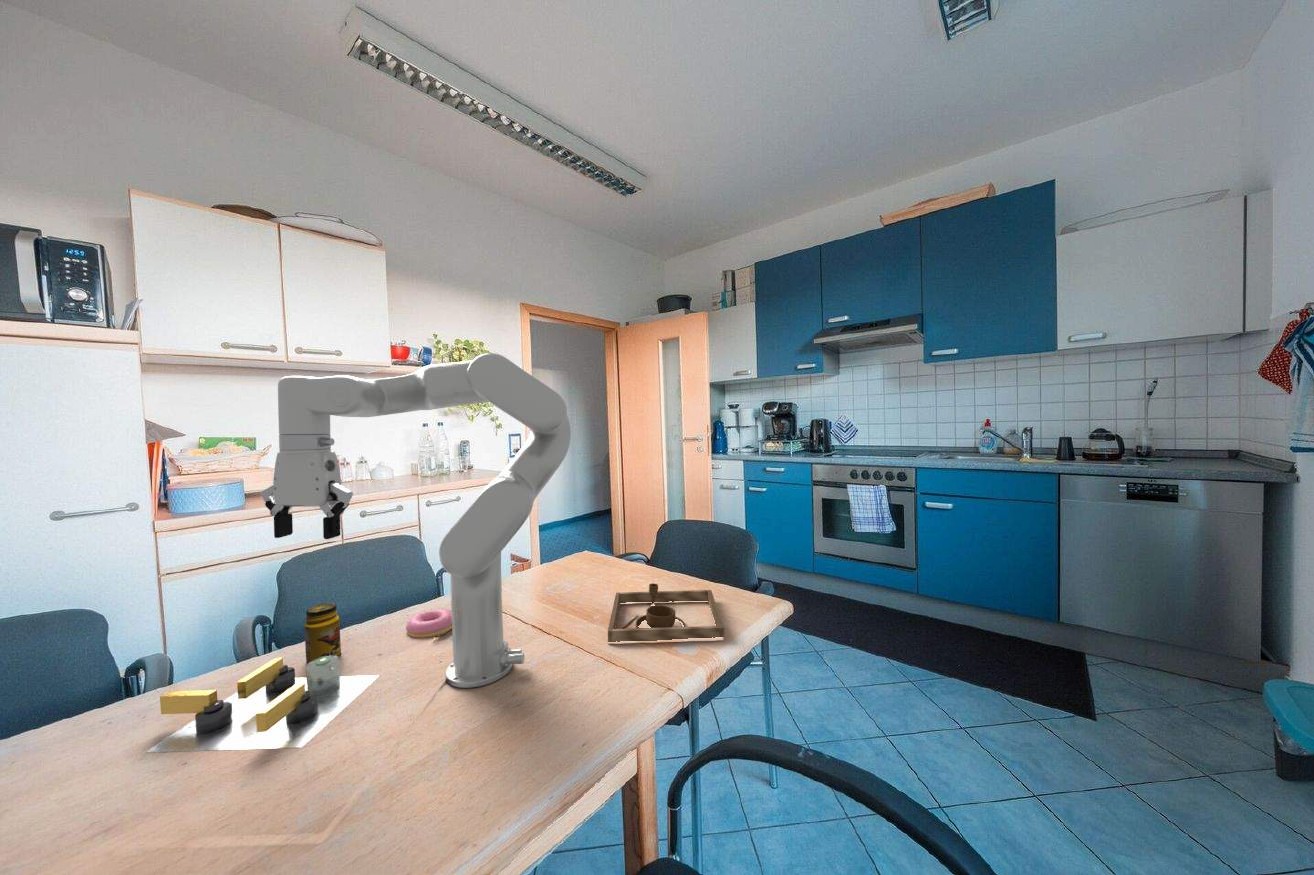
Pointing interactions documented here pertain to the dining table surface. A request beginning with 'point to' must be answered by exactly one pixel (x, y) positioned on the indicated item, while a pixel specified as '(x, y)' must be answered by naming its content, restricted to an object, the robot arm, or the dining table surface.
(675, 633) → the brown rectangular frame
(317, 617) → the condiment
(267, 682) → the knob
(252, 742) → the silver flat rectangular sheet
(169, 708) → the knob
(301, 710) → the knob
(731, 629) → the dining table surface
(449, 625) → the doughnut
